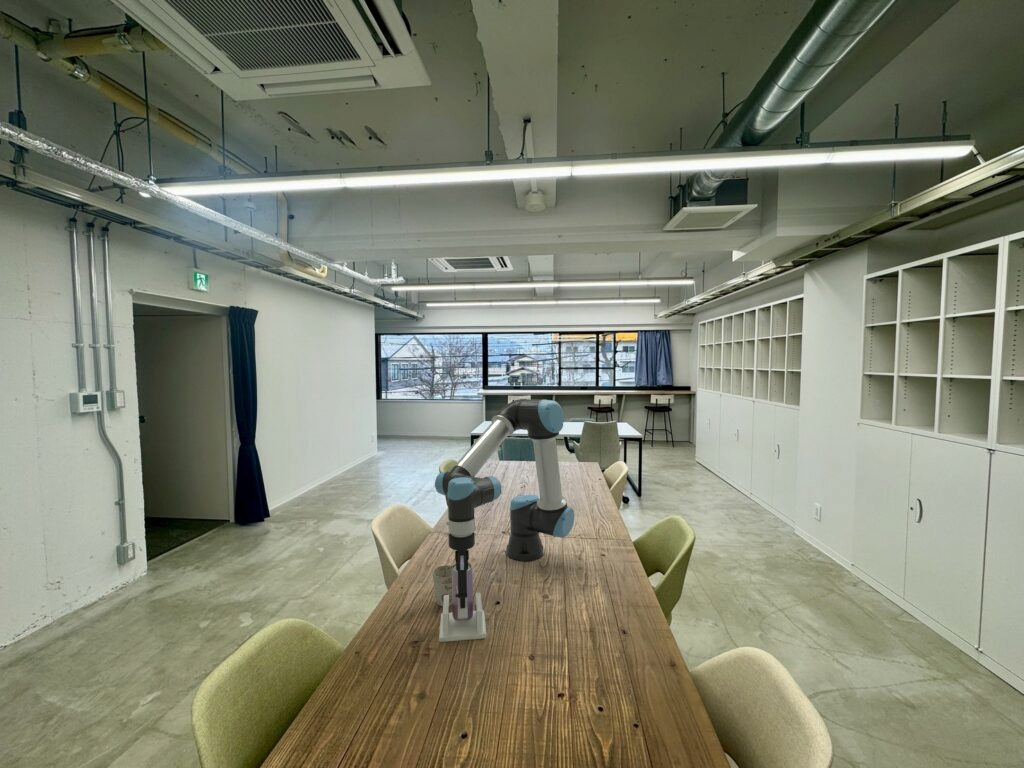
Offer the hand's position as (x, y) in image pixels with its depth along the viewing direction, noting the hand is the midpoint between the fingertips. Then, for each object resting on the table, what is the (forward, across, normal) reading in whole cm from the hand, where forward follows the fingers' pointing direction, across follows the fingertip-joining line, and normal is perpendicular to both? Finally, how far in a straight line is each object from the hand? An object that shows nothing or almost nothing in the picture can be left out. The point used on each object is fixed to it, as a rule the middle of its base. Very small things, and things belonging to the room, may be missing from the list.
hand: (462, 610), depth 123 cm
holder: (+5, 0, 0) cm, 5 cm away
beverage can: (+2, 0, 0) cm, 2 cm away
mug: (+5, -17, -6) cm, 18 cm away
